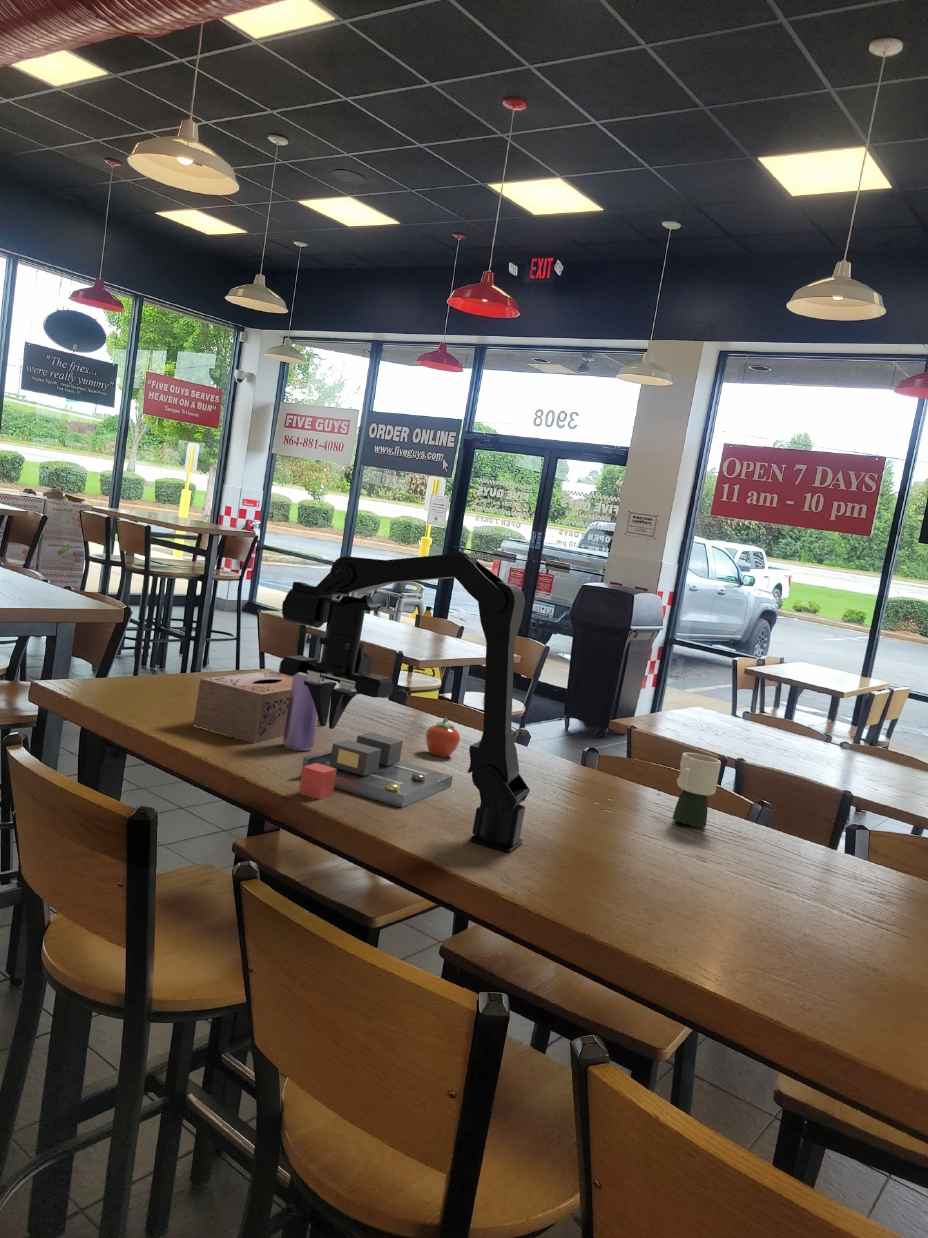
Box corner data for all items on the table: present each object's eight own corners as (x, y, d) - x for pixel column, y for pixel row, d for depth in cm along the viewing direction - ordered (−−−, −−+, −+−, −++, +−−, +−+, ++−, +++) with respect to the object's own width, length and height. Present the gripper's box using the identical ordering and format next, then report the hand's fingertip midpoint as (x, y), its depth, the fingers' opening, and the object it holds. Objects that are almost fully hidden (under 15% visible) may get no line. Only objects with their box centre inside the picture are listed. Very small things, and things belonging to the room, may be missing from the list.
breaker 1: (377, 771, 158) (381, 749, 158) (363, 776, 153) (367, 753, 153) (343, 761, 161) (347, 740, 161) (328, 766, 156) (332, 743, 156)
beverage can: (306, 753, 171) (318, 676, 170) (277, 747, 172) (289, 671, 171) (317, 747, 177) (329, 673, 176) (289, 741, 178) (300, 668, 177)
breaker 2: (399, 761, 168) (402, 741, 167) (387, 765, 163) (390, 744, 163) (367, 752, 170) (370, 732, 170) (354, 756, 166) (357, 735, 165)
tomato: (450, 751, 194) (456, 715, 193) (461, 761, 187) (467, 724, 186) (418, 748, 191) (424, 712, 191) (427, 758, 184) (434, 720, 184)
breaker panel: (450, 786, 165) (454, 768, 165) (402, 807, 147) (405, 787, 147) (357, 760, 173) (360, 742, 173) (300, 777, 154) (303, 757, 154)
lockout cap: (332, 795, 147) (336, 769, 147) (319, 800, 144) (323, 772, 143) (312, 789, 149) (316, 763, 148) (298, 793, 145) (303, 766, 145)
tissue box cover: (265, 713, 201) (271, 670, 200) (320, 728, 196) (327, 684, 195) (192, 728, 177) (200, 678, 176) (254, 745, 172) (262, 694, 171)
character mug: (685, 815, 174) (698, 750, 173) (719, 827, 169) (732, 761, 168) (657, 822, 165) (670, 753, 164) (692, 834, 161) (705, 764, 160)
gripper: (416, 644, 148) (400, 735, 149) (321, 622, 155) (307, 709, 157) (384, 645, 138) (367, 743, 139) (284, 622, 145) (269, 716, 146)
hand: (327, 727), depth 146 cm, fingers closed
